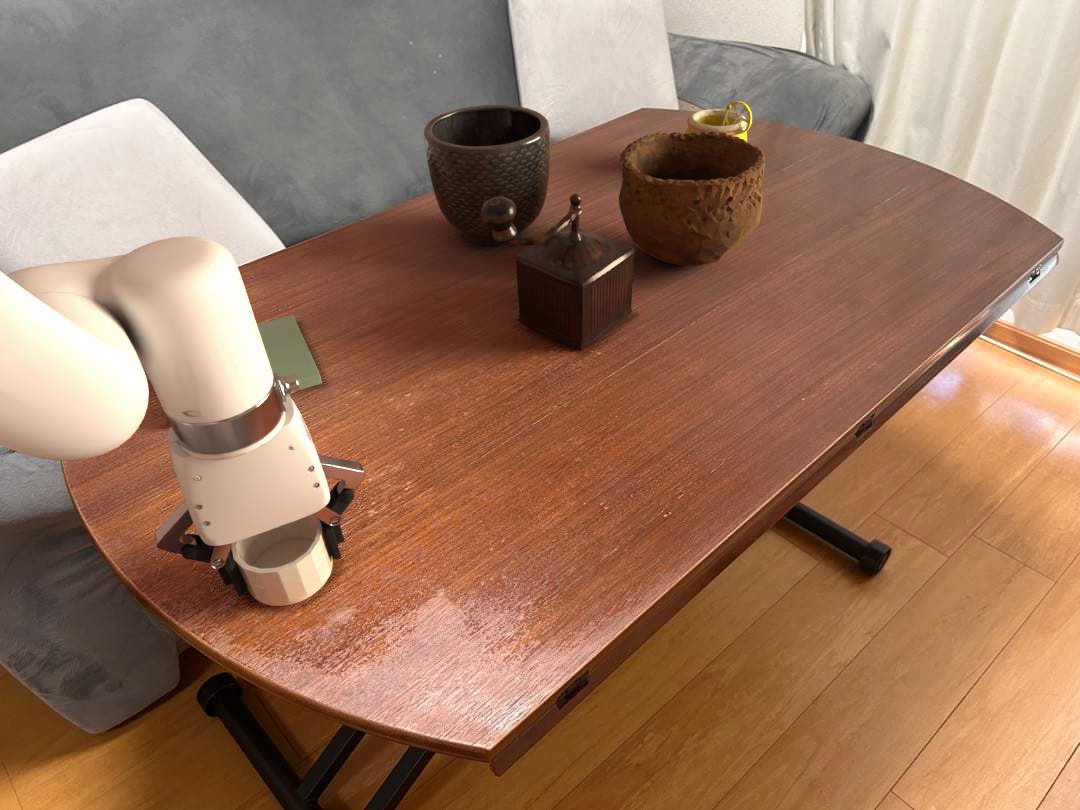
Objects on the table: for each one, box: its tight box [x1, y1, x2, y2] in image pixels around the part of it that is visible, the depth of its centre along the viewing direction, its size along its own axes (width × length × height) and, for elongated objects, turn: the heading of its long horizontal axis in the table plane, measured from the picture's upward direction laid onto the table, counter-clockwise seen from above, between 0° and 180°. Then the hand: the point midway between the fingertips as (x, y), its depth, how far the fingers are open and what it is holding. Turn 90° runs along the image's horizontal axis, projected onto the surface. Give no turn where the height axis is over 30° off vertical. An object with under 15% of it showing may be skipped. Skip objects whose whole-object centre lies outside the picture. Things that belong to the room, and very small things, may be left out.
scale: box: [257, 314, 323, 391], centre depth 87 cm, size 16×14×3 cm
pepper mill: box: [480, 192, 635, 351], centre depth 88 cm, size 16×11×18 cm
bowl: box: [618, 131, 766, 267], centre depth 101 cm, size 19×19×15 cm
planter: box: [423, 104, 551, 247], centre depth 108 cm, size 17×17×16 cm
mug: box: [684, 100, 753, 142], centre depth 125 cm, size 13×11×12 cm
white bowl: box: [231, 515, 334, 607], centre depth 64 cm, size 7×7×4 cm
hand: (287, 564), depth 65 cm, fingers closed on white bowl, 7 cm apart
